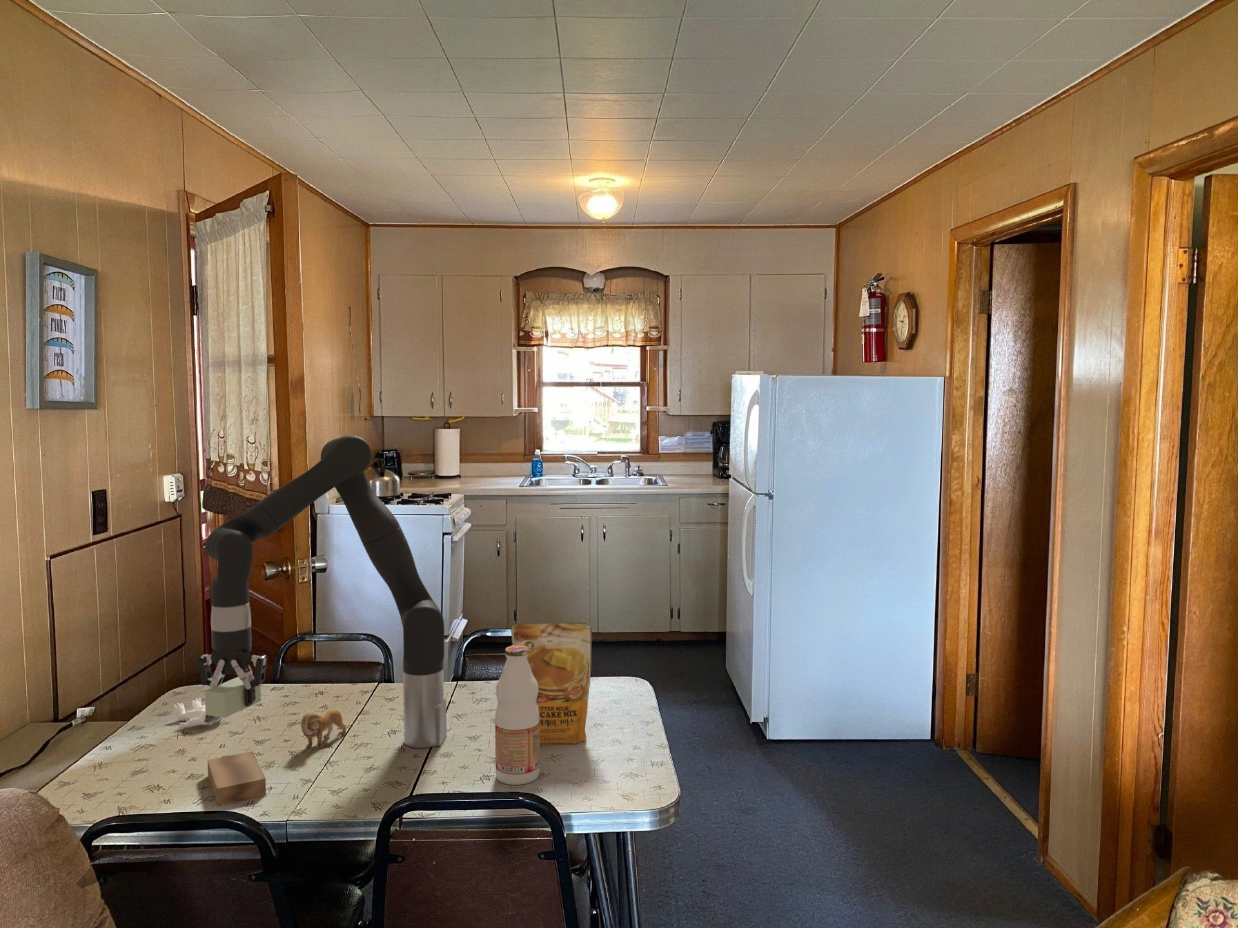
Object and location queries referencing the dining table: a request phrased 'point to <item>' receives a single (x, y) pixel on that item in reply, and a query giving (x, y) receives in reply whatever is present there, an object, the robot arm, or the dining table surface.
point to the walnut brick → (236, 778)
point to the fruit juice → (517, 720)
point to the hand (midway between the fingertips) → (233, 704)
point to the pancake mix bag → (559, 677)
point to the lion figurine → (321, 725)
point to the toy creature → (194, 715)
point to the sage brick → (228, 698)
